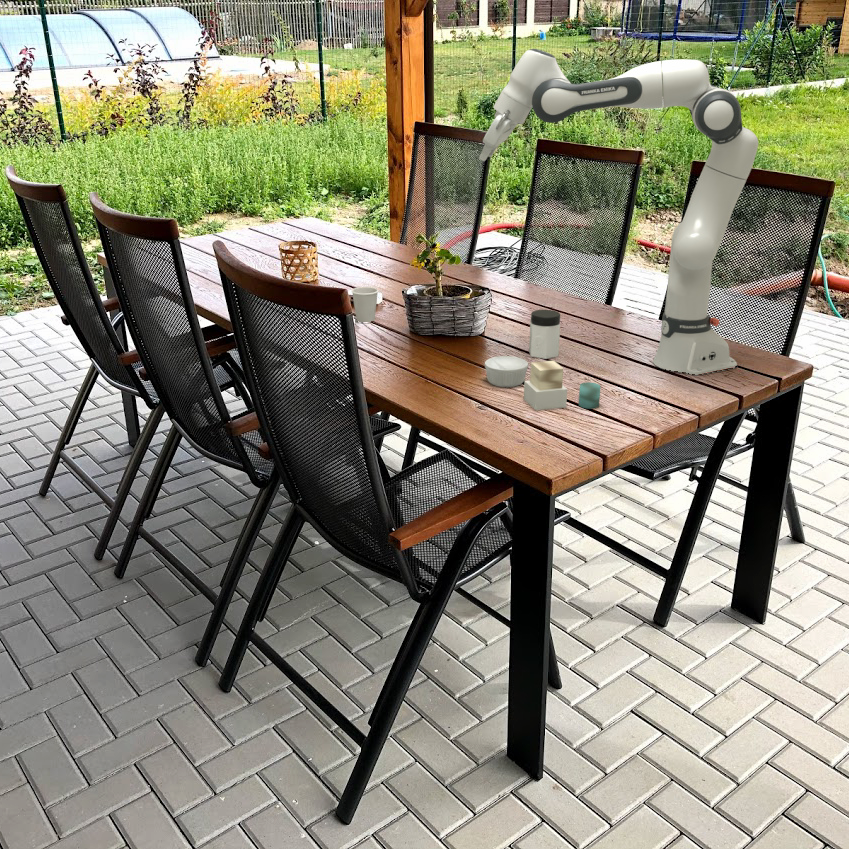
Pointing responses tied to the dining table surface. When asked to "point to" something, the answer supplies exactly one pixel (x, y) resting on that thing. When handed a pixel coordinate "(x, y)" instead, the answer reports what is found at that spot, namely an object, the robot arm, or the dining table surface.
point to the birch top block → (546, 375)
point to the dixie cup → (365, 303)
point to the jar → (544, 334)
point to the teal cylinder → (589, 395)
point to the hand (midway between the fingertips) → (484, 157)
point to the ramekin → (506, 371)
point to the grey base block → (544, 397)
